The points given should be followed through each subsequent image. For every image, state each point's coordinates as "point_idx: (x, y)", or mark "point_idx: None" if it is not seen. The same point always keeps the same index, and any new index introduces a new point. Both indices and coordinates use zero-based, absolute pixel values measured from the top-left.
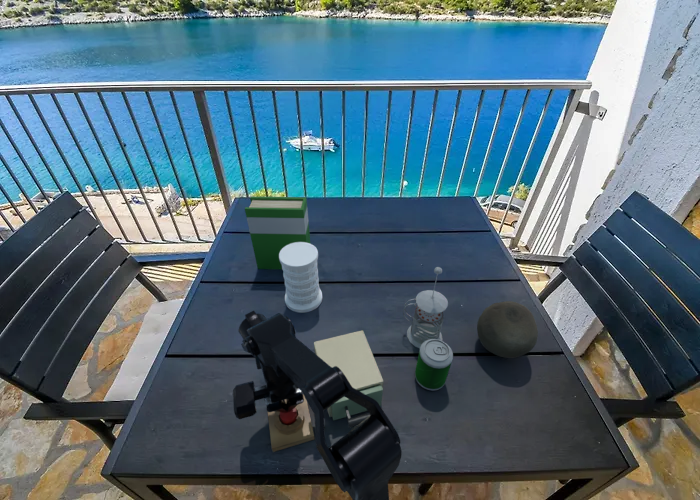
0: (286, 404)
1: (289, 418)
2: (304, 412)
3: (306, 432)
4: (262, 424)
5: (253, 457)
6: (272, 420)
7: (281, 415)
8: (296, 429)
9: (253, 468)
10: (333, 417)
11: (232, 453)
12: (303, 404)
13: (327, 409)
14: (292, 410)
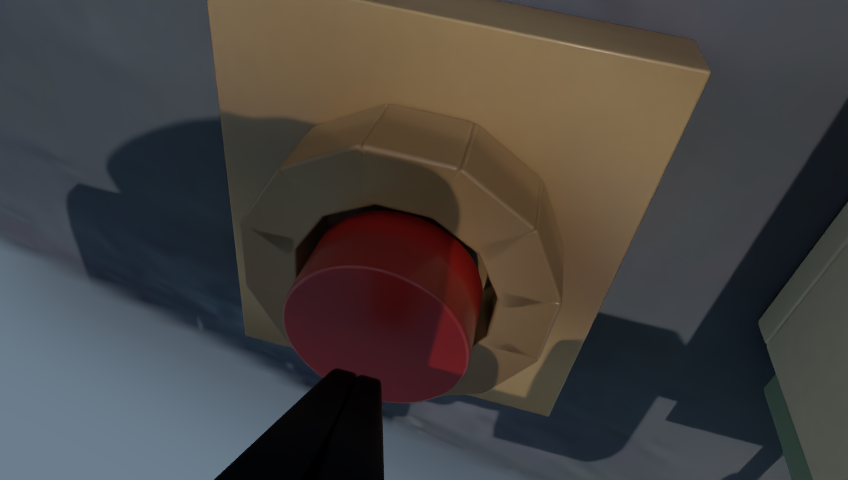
0: (329, 440)
1: None
2: (570, 259)
3: (507, 379)
4: (198, 93)
5: (153, 262)
6: (259, 175)
7: (299, 329)
8: None
9: (159, 306)
10: (781, 440)
11: (14, 179)
12: (606, 185)
13: (799, 282)
14: (426, 351)
